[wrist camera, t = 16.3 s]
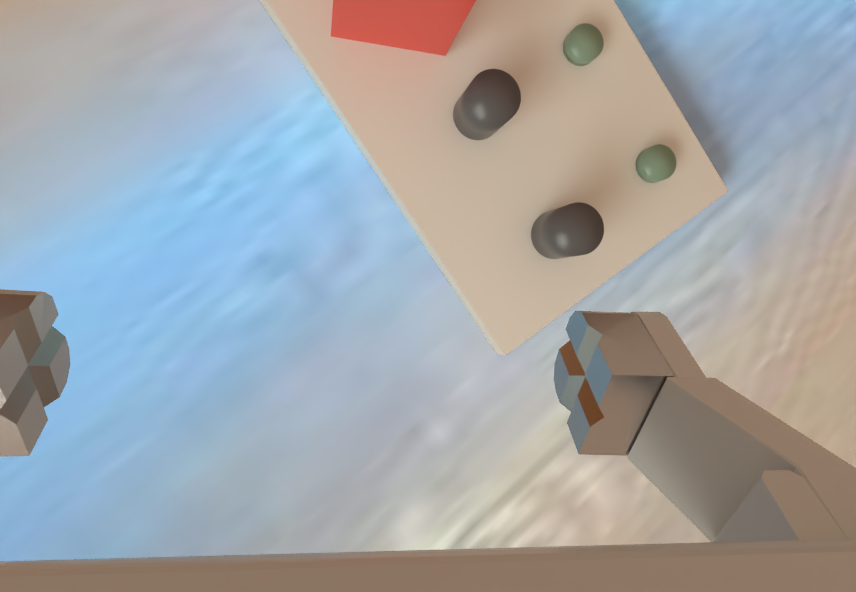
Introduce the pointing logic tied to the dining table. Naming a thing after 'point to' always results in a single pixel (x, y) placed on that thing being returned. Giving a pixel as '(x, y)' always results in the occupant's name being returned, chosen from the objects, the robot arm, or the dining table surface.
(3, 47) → the dining table surface
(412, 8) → the red rectangular block
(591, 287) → the breaker board
